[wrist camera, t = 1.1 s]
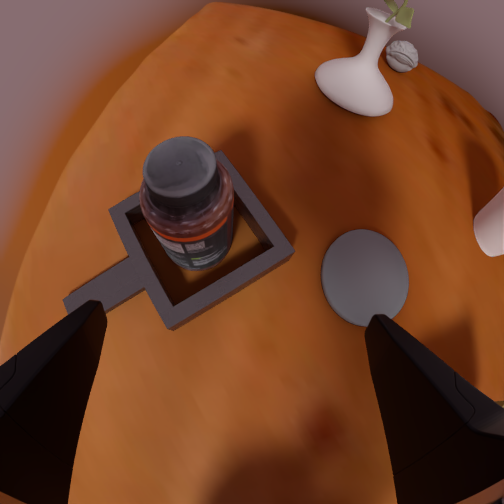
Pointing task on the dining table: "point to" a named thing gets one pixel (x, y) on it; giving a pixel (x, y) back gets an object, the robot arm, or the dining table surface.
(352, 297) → the coaster
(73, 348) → the robot arm
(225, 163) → the square pan with handle
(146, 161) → the supplement bottle
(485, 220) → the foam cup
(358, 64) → the flower in vase
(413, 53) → the lumpy white ball
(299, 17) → the dining table surface
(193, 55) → the dining table surface
